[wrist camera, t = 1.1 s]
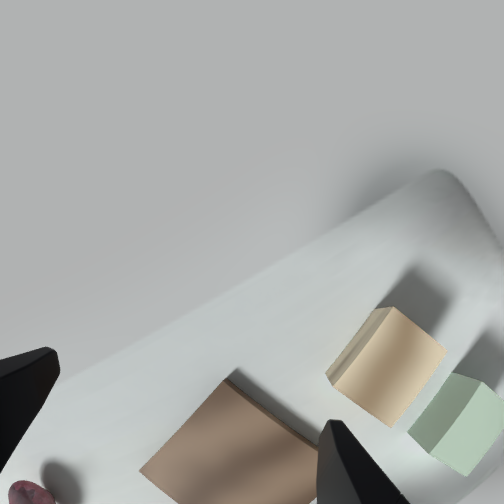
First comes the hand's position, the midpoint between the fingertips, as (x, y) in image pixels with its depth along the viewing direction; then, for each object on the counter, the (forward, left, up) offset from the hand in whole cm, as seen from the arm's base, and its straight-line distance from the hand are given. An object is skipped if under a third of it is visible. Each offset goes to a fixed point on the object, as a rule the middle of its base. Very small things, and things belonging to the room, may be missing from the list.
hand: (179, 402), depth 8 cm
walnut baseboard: (-6, +9, -15) cm, 18 cm away
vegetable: (+5, +31, -15) cm, 35 cm away
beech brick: (-8, -5, -15) cm, 18 cm away
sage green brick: (-17, -5, -15) cm, 23 cm away
